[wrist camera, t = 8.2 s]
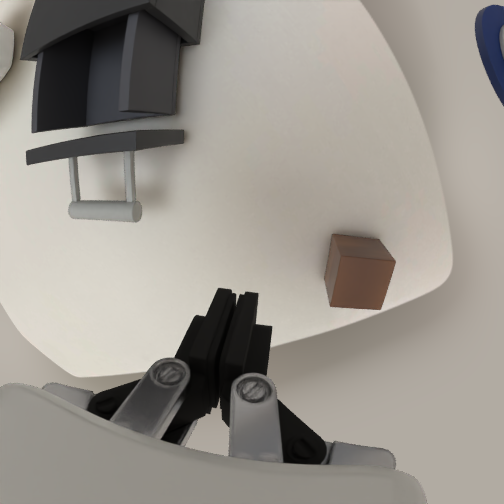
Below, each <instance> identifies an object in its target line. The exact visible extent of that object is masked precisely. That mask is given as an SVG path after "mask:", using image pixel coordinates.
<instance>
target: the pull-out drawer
mask: <svg viewBox="0 0 504 504" xmlns="http://www.w3.org/2000/svg"><path fill="white" fill-rule="evenodd" d="M180 41H181V36H179V35H178V34H177V33H175V32H174V31H173V30H172V29H170V28H169V27H168V26H166V25H165V24H164V23H162V22H161V21H159V20H158V19H157V18H155V17H154V16H152V15H151V14H150V13H148V12H147V11H145V10H144V9H143V10H140V11H136V12H133V13H129V14H126V15H123V16H120V17H117V18H114V19H111V20H108V21H106V22H103V23H100V24H98V25H95V26H93V27H90V28H88V29H85V30H83V31H81V32H79V33H76V34H74V35H72V36H70V37H68V38H66V39H64V40H62V41H60V42H58V43H56V44H54V45H52V46H50V47H48V48H47V49H45V50H43V51H41V52H39V53H38V58H37V65H36V72H35V80H34V89H33V103H32V133H38V132H44V131H51V130H59V129H68V128H78V127H88V126H93V125H98V124H104V123H109V122H116V121H122V120H130V119H137V118H146V117H156V116H167V115H175V111H176V90H177V74H178V62H179V50H180ZM183 143H184V130H137V131H127V132H119V133H111V134H104V135H98V136H92V137H86V138H80V139H75V140H70V141H65V142H60V143H56V144H51V145H47V146H43V147H39V148H35V149H31V150H28V151H26V163H27V165H31V164H36V163H41V162H46V161H52V160H58V159H64V158H69V172H70V184H71V194H72V202H71V203H70V205H69V209H68V212H69V215H70V217H71V218H73V219H88V220H106V221H123V222H138V221H139V220H140V219H141V216H142V205H141V203H140V202H139V201H136V190H135V168H134V151H137V150H142V149H148V148H155V147H161V146H168V145H176V144H183ZM113 152H124V171H125V189H126V201H102V200H80V189H79V178H78V163H77V157H78V156H86V155H94V154H103V153H113Z"/></svg>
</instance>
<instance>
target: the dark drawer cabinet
mask: <svg viewBox="0 0 504 504" xmlns="http://www.w3.org/2000/svg"><path fill="white" fill-rule="evenodd" d="M203 8H204V0H35V3H34V6H33V9H32V13H31V16H30V19H29V23H28V26H27V30H26V34H25V38H24V43H23V47H22V52H21V58H20V60H28V61H37V58H38V53H39V52H41V51H43V50H45V49H47V48H48V47H50V46H52V45H54V44H56V43H58V42H60V41H62V40H64V39H66V38H68V37H70V36H72V35H74V34H76V33H79V32H81V31H83V30H85V29H88V28H90V27H93V26H95V25H98V24H100V23H103V22H106V21H108V20H111V19H114V18H117V17H120V16H123V15H126V14H129V13H133V12H136V11H140V10H143V9H144V10H145V11H147V12H148V13H150V14H151V15H152V16H154V17H155V18H157V19H158V20H159V21H161V22H162V23H164V24H165V25H166V26H168V27H169V28H170V29H172V30H173V31H174V32H175V33H177V34H178V35H179V36H181V41H180V46H187V45H196V44H200V35H201V25H202V16H203Z"/></svg>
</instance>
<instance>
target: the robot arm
mask: <svg viewBox="0 0 504 504" xmlns="http://www.w3.org/2000/svg"><path fill="white" fill-rule="evenodd" d="M499 40H500V47H501V51H502V55H503V59H504V25H503V26H502V27H501V29H500V33H499ZM257 305H258V293H253V292H245V294H244V295H242V294H240V295H239V298H238V302H237V305H236V294H235V293H232V290H231V289H224V288H218V290H217V292H216V294H215V296H214V299H213V301H212V303H211V305H210V307H209V310H208V312H207V314H206V316H199V315H196V316H195V317H194V318H193V320H192V322H191V324H190V326H189V328H188V330H187V332H186V334H185V336H184V339H183V341H182V343H181V345H180V347H179V349H178V351H177V353H176V355H175V357H174V358H164V359H160V360H158V361H156V362H155V363H154V364H153V365H152V366H151V367H150V368H149V370H148V371H147V372H146V374H145V375H144V376H143V377H142V379H139V380H136V381H133V382H131V383H127V384H124V385H121V386H118V387H115V388H112V389H109V390H106V391H102V392H100V393H98V394H94V393H93V391H89V390H84V389H80V388H75V387H71V386H67V385H62V384H58V383H48V384H46V385H45V386H43V387H42V389H41V388H38V387H35V386H31V385H27V384H20V383H9V384H5V385H3V386H1V387H0V504H427V500H426V496H425V493H424V490H423V488H422V486H421V484H420V483H419V481H418V480H417V479H416V478H415V477H413V476H411V475H409V474H407V473H405V472H402V471H399V470H395V467H396V462H395V461H396V460H395V457H394V455H393V454H392V453H391V452H390V451H389V450H386V449H383V448H376V447H368V446H361V445H355V444H348V443H343V442H338V441H334V442H333V443H331V442H326V441H324V440H323V439H322V438H321V437H320V436H319V435H317V434H316V433H315V432H314V431H313V430H311V429H310V428H309V427H308V426H307V425H306V424H305V423H304V422H302V421H301V420H300V419H299V418H298V417H297V416H296V415H294V413H292V412H291V411H290V410H289V409H288V408H287V407H286V406H285V405H284V404H283V403H282V402H281V401H279V400H278V399H277V392H276V387H275V384H274V383H273V381H272V380H271V379H270V378H268V377H267V376H266V375H267V367H268V360H269V351H270V343H271V335H272V326H266V325H258V324H256V315H257ZM219 398H220V409H222V420H223V421H224V422H225V423H226V425H227V426H228V427H229V428H230V429H229V430H230V431H229V456H223V455H218V454H213V453H208V452H204V451H199V450H195V449H190V448H187V447H185V445H186V443H187V441H188V439H189V437H190V435H191V434H192V432H193V430H194V428H195V426H196V424H197V421H198V419H199V418H201V417H203V416H205V414H206V413H207V414H210V412H211V409H212V407H213V408H217V405H218V402H219Z"/></svg>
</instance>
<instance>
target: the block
mask: <svg viewBox="0 0 504 504" xmlns="http://www.w3.org/2000/svg"><path fill="white" fill-rule="evenodd" d="M395 263H396V261H395V260H394V258H393V257H392V256H391V254H390V253H389V252H388V250H387V249H386V248H385V246H384V245H383V244H382V242H381V241H380V240H379V239H371V238H363V237H354V236H346V235H337V234H332V239H331V245H330V251H329V256H328V262H327V267H326V273H325V278H324V280H325V284H326V289H327V294H328V299H329V304H330V307H340V308H356V309H373V310H381V307H382V304H383V302H384V299H385V296H386V293H387V289H388V286H389V283H390V280H391V277H392V273H393V270H394V266H395Z"/></svg>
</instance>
